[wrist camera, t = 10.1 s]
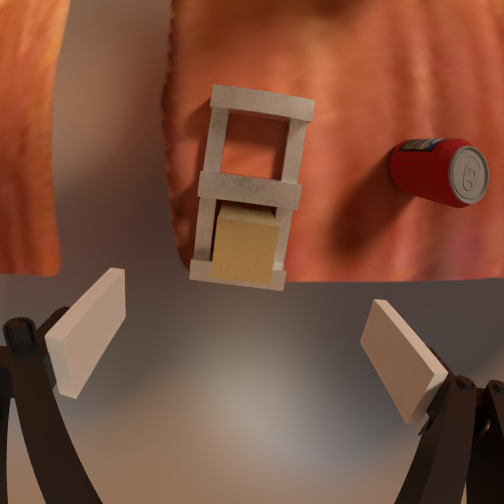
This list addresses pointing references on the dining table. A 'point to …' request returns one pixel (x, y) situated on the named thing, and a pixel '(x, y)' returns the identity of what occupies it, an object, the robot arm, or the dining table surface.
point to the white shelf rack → (246, 186)
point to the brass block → (245, 243)
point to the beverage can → (440, 170)
